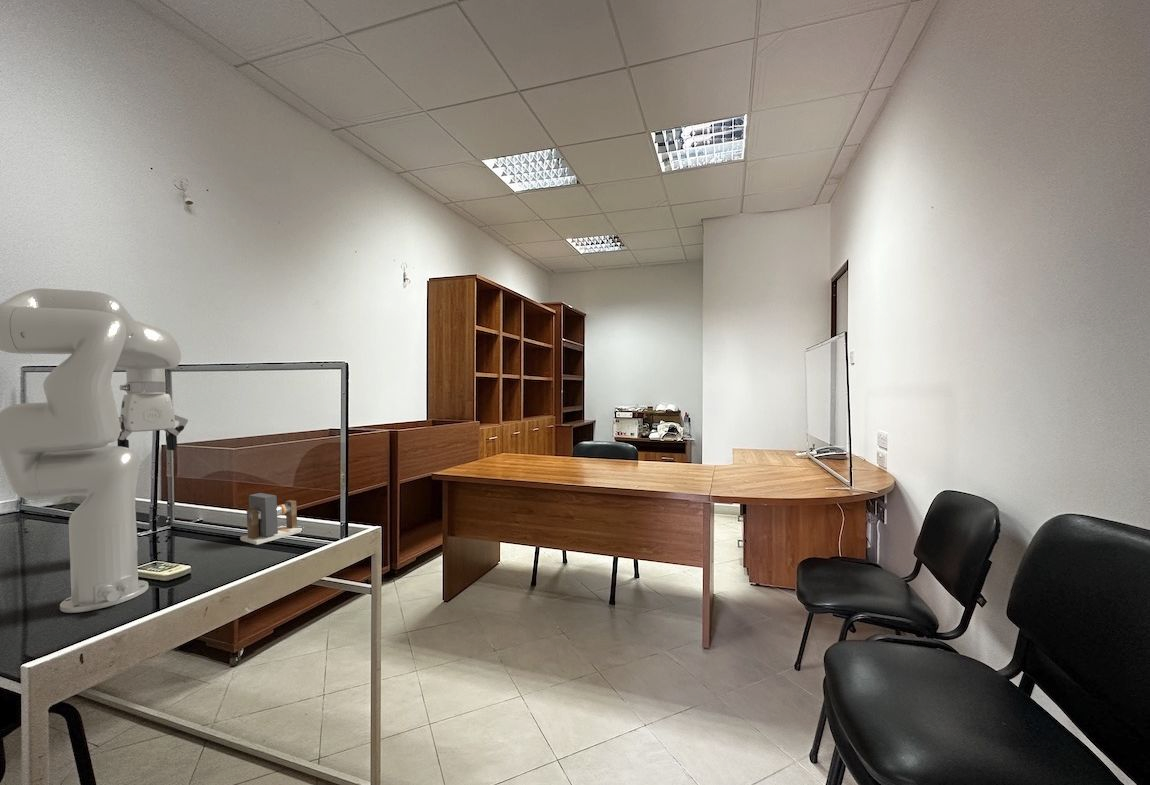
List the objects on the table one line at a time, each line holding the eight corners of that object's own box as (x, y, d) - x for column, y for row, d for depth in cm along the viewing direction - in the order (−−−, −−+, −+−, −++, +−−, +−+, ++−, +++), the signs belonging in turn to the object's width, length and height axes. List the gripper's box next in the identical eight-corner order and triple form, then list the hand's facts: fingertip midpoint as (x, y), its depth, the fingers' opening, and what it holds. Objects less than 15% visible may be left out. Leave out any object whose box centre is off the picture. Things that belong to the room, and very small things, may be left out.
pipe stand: (304, 531, 134) (303, 501, 134) (256, 544, 123) (255, 512, 123) (288, 527, 139) (287, 498, 139) (240, 540, 127) (239, 509, 127)
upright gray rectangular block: (277, 533, 128) (276, 495, 128) (266, 536, 125) (265, 497, 125) (261, 529, 132) (260, 492, 132) (250, 532, 130) (248, 495, 130)
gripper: (108, 389, 111) (110, 457, 111) (192, 388, 126) (194, 448, 126) (95, 390, 114) (98, 456, 114) (179, 389, 129) (181, 447, 129)
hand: (148, 452), depth 120 cm, fingers open, 9 cm apart
